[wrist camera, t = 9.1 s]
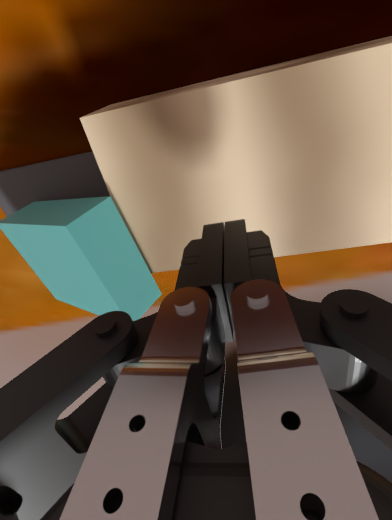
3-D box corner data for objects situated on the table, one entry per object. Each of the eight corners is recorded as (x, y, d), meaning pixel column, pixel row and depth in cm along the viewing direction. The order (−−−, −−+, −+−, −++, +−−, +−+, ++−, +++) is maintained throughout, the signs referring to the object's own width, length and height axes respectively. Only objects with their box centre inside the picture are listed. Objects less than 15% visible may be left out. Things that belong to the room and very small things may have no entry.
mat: (124, 144, 16) (121, 146, 16) (163, 261, 21) (162, 265, 20) (-14, 174, 18) (-19, 176, 18) (49, 277, 22) (46, 280, 22)
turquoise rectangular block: (110, 196, 13) (65, 226, 12) (161, 294, 16) (131, 327, 15) (34, 201, 18) (-5, 223, 17) (84, 275, 21) (56, 299, 20)
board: (523, 3, 12) (637, -16, 9) (465, 190, 16) (526, 224, 13) (110, 104, 15) (79, 118, 12) (155, 237, 19) (141, 274, 16)
